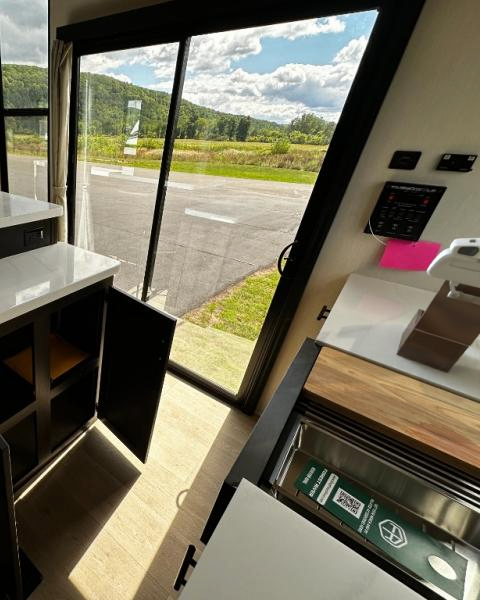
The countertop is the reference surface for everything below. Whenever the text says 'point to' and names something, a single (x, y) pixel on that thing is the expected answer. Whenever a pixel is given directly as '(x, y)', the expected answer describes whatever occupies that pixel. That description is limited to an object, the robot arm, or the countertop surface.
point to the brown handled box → (453, 314)
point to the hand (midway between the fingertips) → (468, 301)
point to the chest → (429, 347)
